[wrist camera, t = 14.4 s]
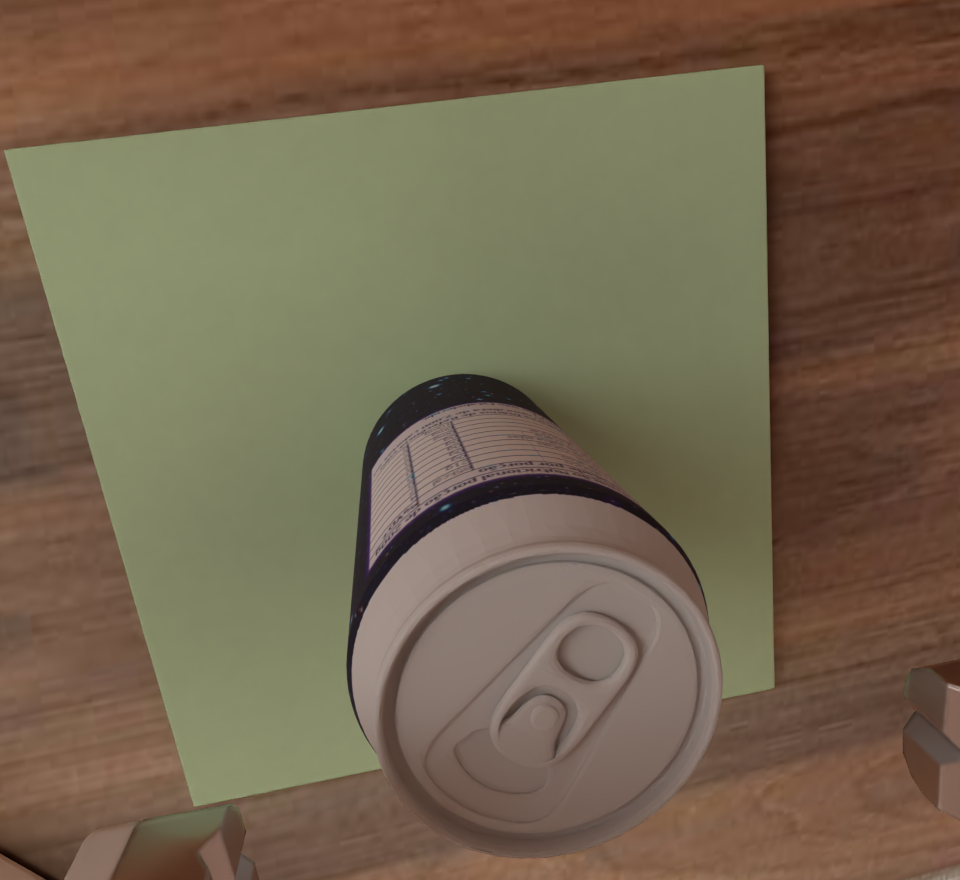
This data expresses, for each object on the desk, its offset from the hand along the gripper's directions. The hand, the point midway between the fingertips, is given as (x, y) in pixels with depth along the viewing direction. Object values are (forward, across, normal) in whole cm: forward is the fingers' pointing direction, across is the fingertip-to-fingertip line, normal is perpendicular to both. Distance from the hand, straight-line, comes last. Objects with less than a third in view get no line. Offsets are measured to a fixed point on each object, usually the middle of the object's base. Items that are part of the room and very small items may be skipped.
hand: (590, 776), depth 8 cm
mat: (+14, 0, 0) cm, 14 cm away
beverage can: (+13, 0, 0) cm, 13 cm away
